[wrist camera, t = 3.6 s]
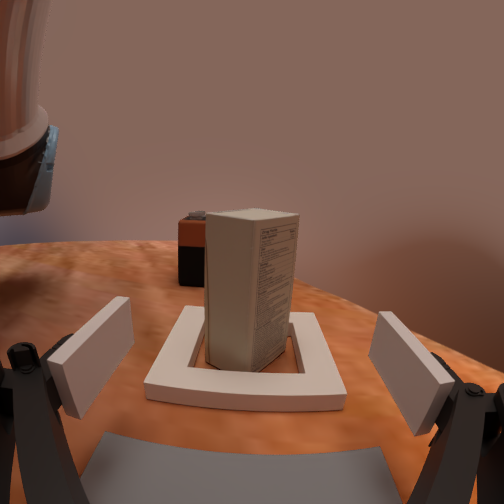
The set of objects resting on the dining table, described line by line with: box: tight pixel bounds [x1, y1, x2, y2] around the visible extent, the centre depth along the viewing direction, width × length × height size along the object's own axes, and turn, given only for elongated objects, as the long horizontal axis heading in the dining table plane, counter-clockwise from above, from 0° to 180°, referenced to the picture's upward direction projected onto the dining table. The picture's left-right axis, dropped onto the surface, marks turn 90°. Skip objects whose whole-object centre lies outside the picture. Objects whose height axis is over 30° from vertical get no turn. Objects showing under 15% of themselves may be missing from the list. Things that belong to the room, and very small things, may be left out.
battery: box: [178, 211, 206, 287], centre depth 42 cm, size 4×7×10 cm, turn 1°
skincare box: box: [204, 208, 299, 373], centre depth 23 cm, size 6×4×12 cm
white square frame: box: [144, 306, 347, 412], centre depth 24 cm, size 13×13×2 cm
